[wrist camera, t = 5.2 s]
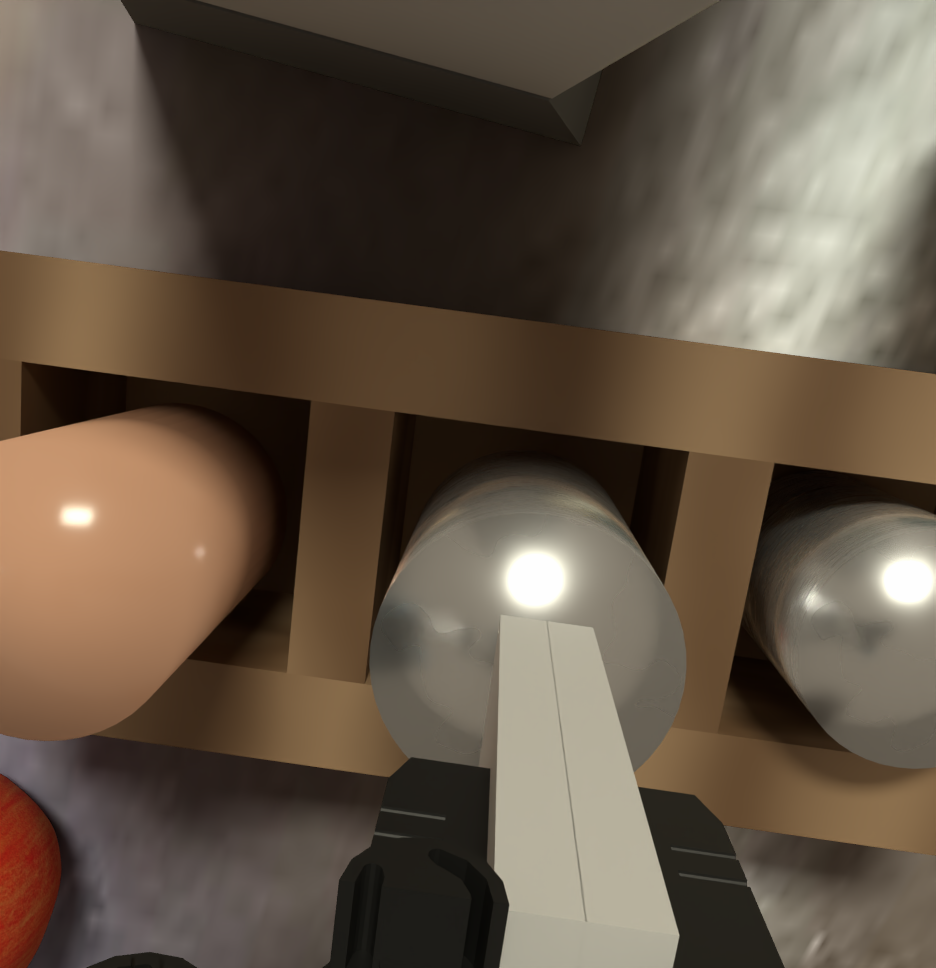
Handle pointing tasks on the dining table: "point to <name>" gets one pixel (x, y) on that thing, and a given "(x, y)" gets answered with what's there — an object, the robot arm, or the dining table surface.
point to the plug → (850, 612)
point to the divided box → (445, 448)
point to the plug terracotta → (123, 558)
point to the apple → (25, 875)
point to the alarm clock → (441, 47)
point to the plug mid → (519, 604)
